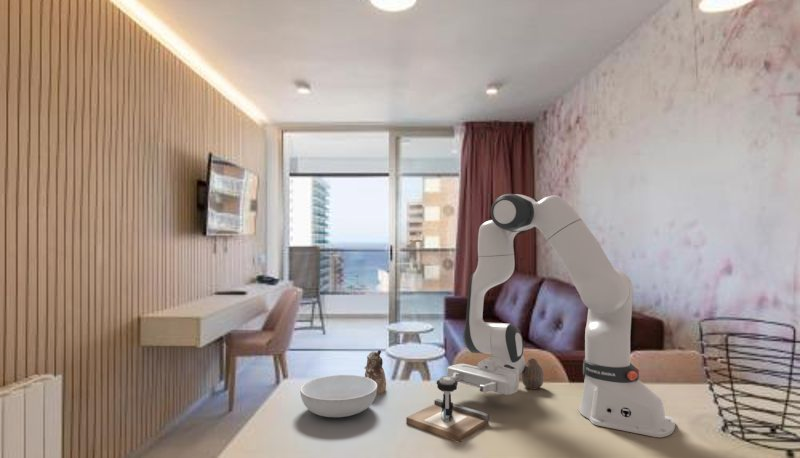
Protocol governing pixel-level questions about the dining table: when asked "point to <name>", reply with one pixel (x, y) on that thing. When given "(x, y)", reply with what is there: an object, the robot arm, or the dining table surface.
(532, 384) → the vase
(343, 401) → the serving bowl
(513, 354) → the robot arm
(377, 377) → the figurine
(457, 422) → the brown board with label
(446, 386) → the push button
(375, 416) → the dining table surface
